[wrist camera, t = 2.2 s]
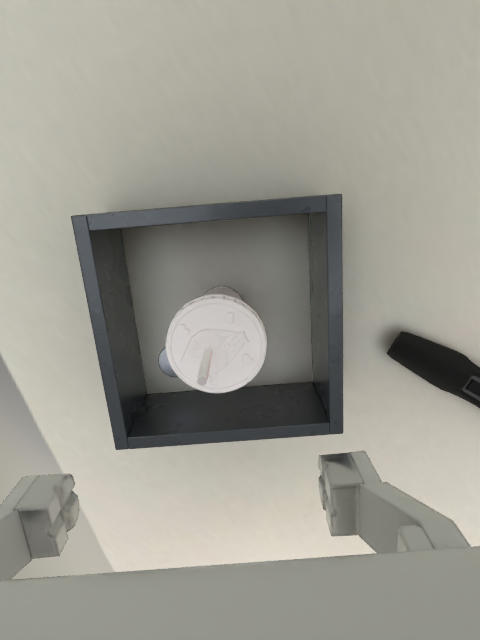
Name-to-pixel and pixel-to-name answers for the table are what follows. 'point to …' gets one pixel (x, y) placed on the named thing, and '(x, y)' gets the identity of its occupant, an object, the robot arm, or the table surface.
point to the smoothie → (216, 342)
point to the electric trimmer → (438, 366)
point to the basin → (124, 354)
